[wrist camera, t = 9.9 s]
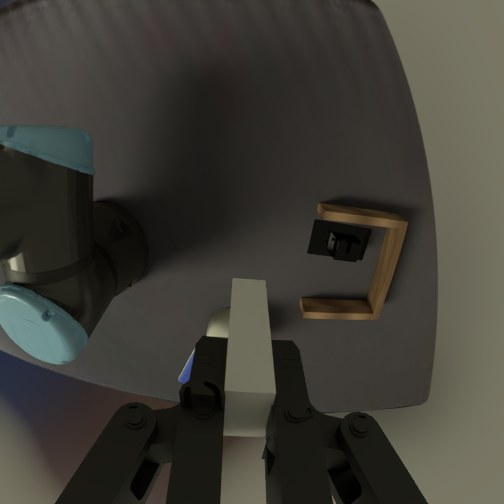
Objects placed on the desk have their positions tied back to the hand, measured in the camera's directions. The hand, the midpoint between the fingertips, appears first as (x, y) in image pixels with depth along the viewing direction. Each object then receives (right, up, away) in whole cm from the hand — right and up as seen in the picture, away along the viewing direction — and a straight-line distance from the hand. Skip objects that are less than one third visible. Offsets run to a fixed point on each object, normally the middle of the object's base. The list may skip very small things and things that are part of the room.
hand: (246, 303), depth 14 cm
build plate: (+14, +4, +31) cm, 35 cm away
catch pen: (+15, +1, +32) cm, 35 cm away
